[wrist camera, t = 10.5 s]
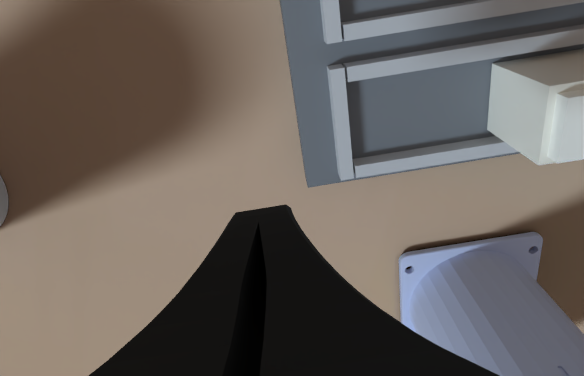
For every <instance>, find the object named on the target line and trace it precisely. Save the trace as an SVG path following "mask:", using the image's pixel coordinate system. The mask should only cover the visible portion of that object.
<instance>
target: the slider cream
mask: <svg viewBox="0 0 584 376" xmlns="http://www.w3.org/2000/svg"><path fill="white" fill-rule="evenodd" d="M487 130H488V131H490V132H491V133H492V134H494V135H495V136H497V137H498V138H500V139H501V140H503V141H504V142H505V143H507V144H508V145H510V146H511V147H513V148H514V149H515V150H517V151H518V152H520V153H521V154H523V155H524V156H526V157H527V158H528V159H530V160H531V161H533V162H534V163H536V164H537V165H544V164H550V163H563V162H570V161H576V160H582V159H584V49H578V50H572V51H566V52H560V53H553V54H547V55H541V56H535V57H529V58H523V59H517V60H510V61H504V62H498V63H492V70H491V84H490V97H489V111H488V124H487Z"/></svg>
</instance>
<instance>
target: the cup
mask: <svg viewBox="0 0 584 376" xmlns="http://www.w3.org/2000/svg"><path fill="white" fill-rule="evenodd" d="M8 204H9V202H8V193H7V189H6V186H5V184H4V181H3V179H2V177H1V175H0V226H1V225H2V223H3V222H4V220H5V218H6V215H7V212H8Z"/></svg>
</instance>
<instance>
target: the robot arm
mask: <svg viewBox="0 0 584 376" xmlns="http://www.w3.org/2000/svg"><path fill="white" fill-rule="evenodd" d="M542 244H543V238H542V237H541V236H540V235H539V234H538V233H537V232H529V233H522V234H516V235H510V236H504V237H497V238H491V239H485V240H479V241H472V242H466V243H460V244H454V245H448V246H441V247H435V248H429V249H423V250H416V251H410V252H406V253H403V254H402V255H401V256H400V257H399V282H400V311H401V322H399V321H398V320H396V319H395V318H393V317H392V316H390V315H389V314H387V313H386V312H384V311H383V310H381V309H380V308H379V307H377V306H376V305H375V304H373V303H372V302H371V301H370V300H368V299H367V298H366V297H365V296H363V295H362V294H361V293H360V292H358V291H357V290H356V289H355V288H354V287H353V286H352V285H350V284H349V283H348V282H347V281H346V280H345V279H344V278H343V277H342V276H341V275H340V274H339V273H338V272H337V271H336V270H335V269H334V268H333V267H332V266H331V265H330V264H329V263H328V262H327V261H326V260H325V259H324V258H323V256H322V255H321V254H320V253H319V252H318V251H317V249H316V248H315V247H314V245H313V244H312V243H311V242H310V240H309V239H308V238H307V237H306V235H305V234H304V232H303V231H302V229H301V228H300V226H299V225H298V223H297V221H296V219H295V217H294V215H293V213H292V210H291V208H290V207H289V206H287V205H280V206H274V207H268V208H262V209H256V210H249V211H243V212H237V213H235V215H234V216H233V217H232V219H231V220H230V222H229V223H228V225H227V226H226V228H225V230H224V231H223V233H222V234H221V236H220V237H219V239H218V240H217V242H216V244H215V245H214V246H213V248H212V249H211V251H210V252H209V254H208V255H207V256H206V258H205V259H204V261H203V262H202V264H201V265H200V266H199V268H198V269H197V270H196V272H195V273H194V274H193V275H192V277H191V278H190V279H189V280H188V282H187V283H186V284H185V285H184V287H183V288H182V289H181V290H180V292H179V293H178V294H177V295H176V296H175V297H174V298H173V299H172V301H171V302H170V303H169V304H168V305H167V306H166V307H165V308H164V309H163V310H162V311H161V312H160V313H159V314H158V315H157V316H156V317H155V318H154V319H153V320H152V321H151V322H150V323H149V324H148V325H147V326H146V327H145V328H144V329H143V330H142V331H141V332H139V333H138V334H137V335H136V336H135V337H134V338H133V339H132V340H130V341H129V342H128V343H127V344H126V345H125V346H124V347H122V348H121V349H120V350H119V351H118V352H117V353H116V354H115V355H113V356H112V357H111V358H110V359H109V360H108V361H106V362H105V363H104V364H103V365H102V366H100V367H99V368H98V369H96V370H95V371H94V372H93V373H91V374H90V375H89V376H584V334H583V333H582V332H581V331H580V329H579V328H578V327H577V326H576V325H575V324H574V323H573V322H572V320H571V319H570V318H569V317H568V316H567V315H566V314H565V313H564V312H563V310H562V309H561V308H560V307H559V306H558V305H557V304H556V303H555V301H554V300H553V299H552V298H551V297H550V296H549V295H548V294H547V293H546V291H545V290H544V289H543V288H542V287H541V286H540V285H539V284H538V282H537V275H538V269H539V262H540V256H541V250H542ZM533 246H534V247H533ZM531 247H533V248H532V249H530V248H531ZM529 249H530V250H529ZM409 266H412V267H411V268H410V269H406V268H407V267H409Z"/></svg>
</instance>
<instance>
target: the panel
mask: <svg viewBox="0 0 584 376" xmlns="http://www.w3.org/2000/svg"><path fill="white" fill-rule="evenodd" d="M280 5H281V12H282V19H283V25H284V32H285V39H286V46H287V53H288V60H289V67H290V74H291V80H292V87H293V94H294V101H295V108H296V115H297V122H298V128H299V135H300V142H301V149H302V156H303V163H304V170H305V177H306V181H307V185H308V187H314V186H320V185H327V184H333V183H339V182H345V181H351V180H358V179H364V178H370V177H376V176H382V175H388V174H395V173H401V172H407V171H413V170H419V169H426V168H432V167H438V166H444V165H450V164H457V163H463V162H469V161H475V160H481V159H487V158H494V157H500V156H506V155H512V154H518V153H520V152H518V151H517V150H515V149H514V148H513V147H511V146H510V145H508V144H507V143H505V142H504V141H503V140H501V139H500V138H498V137H497V136H495V135H494V134H492V133H491V132H490V131H488V130H487V124H488V111H489V97H490V84H491V70H492V63H498V62H504V61H510V60H517V59H523V58H529V57H535V56H541V55H547V54H553V53H560V52H566V51H572V50H578V49H584V0H280Z"/></svg>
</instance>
